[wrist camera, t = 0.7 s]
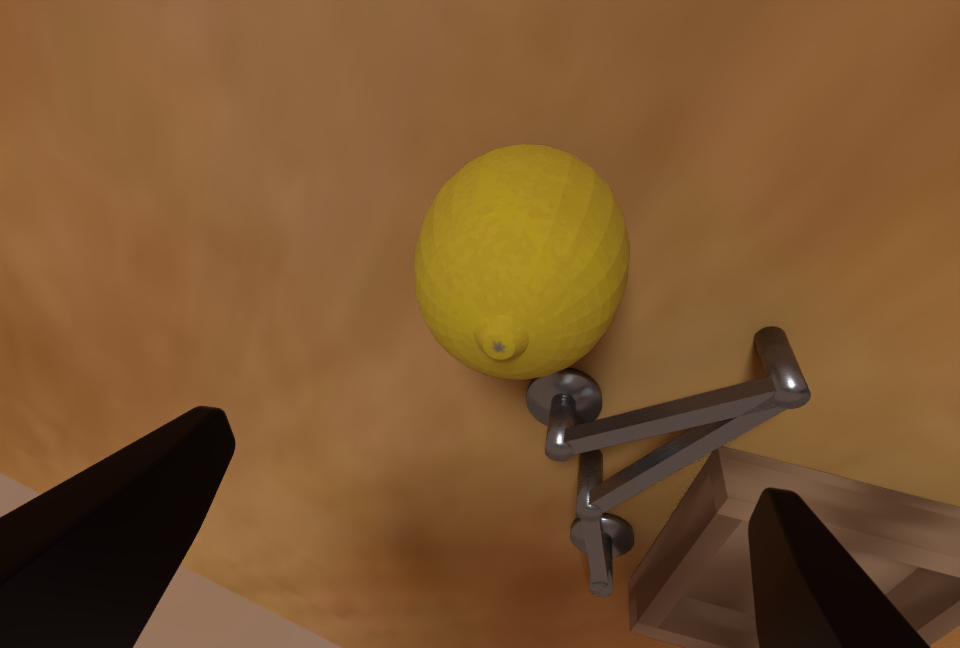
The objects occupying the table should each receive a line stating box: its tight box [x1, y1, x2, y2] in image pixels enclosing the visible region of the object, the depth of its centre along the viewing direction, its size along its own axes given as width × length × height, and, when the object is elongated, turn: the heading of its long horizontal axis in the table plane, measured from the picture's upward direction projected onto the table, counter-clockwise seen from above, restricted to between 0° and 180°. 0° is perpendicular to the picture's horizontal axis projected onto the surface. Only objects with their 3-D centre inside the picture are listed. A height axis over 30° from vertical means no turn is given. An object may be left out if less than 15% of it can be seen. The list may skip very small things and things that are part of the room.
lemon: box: [415, 144, 630, 380], centre depth 15 cm, size 6×6×8 cm
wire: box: [526, 327, 811, 597], centre depth 23 cm, size 8×15×3 cm, turn 170°
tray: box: [629, 446, 960, 648], centre depth 25 cm, size 11×11×3 cm
